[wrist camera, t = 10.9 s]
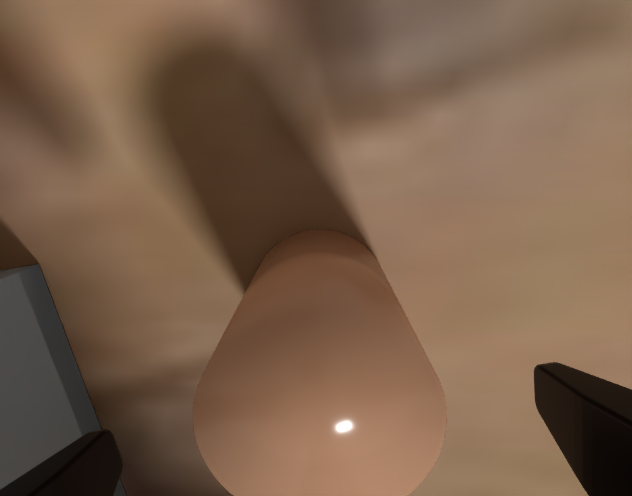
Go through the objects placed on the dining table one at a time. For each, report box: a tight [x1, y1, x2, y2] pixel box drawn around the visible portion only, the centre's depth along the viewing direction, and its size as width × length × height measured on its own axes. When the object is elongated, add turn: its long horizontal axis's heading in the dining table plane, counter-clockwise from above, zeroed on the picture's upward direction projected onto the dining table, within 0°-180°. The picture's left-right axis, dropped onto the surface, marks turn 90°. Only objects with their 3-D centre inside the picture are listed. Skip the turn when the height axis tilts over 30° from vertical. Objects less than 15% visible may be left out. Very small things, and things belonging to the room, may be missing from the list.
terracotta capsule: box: [193, 229, 447, 496], centre depth 11 cm, size 5×5×7 cm
